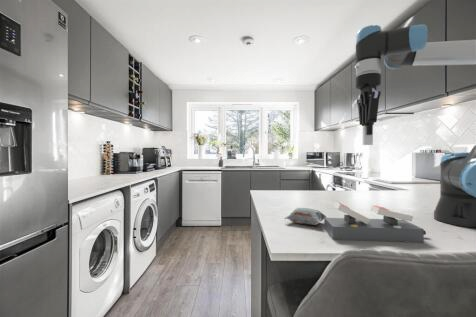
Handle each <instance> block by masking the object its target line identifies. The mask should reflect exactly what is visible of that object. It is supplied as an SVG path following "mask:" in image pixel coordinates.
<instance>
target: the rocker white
mask: <svg viewBox="0 0 476 317" xmlns="http://www.w3.org/2000/svg"><path fill="white" fill-rule="evenodd" d="M370 212H373V213H374V214H376V215H379V216H388V217H393V218H395V219H398V220H405V221H408V222H410V223H412V222H413V219H414V215H412V214H410V213H407V212H405V211H402V210H396V209H391V208H386V207H383V206H378V205H373V204H372V205H371V207H370Z"/></svg>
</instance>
